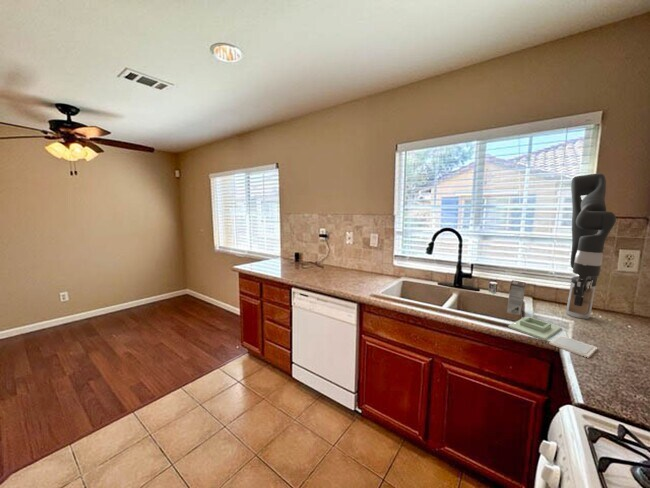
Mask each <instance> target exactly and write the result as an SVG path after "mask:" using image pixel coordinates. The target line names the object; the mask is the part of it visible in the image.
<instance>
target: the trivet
mask: <svg viewBox="0 0 650 488" xmlns="http://www.w3.org/2000/svg"><path fill="white" fill-rule="evenodd" d="M548 344H549V345H550V346H554V347H557V348H559V349H562V350H565V351H567V352H570V353H572V354H575V355H578V356H581V357H583V356H584V357H585V358H586V357H587V359H589V358H591V356H593V354H594V353H595V352H597V350H598V347H597V346H595V345H591V344H589V343H586V342H584V341H583V342H582V341H580V340H576V339H573V338H570V337H568V336H565V335H563V334H562V335H561V334H559V335H557V336H555V338H553V339H551V340H550V341H549V343H548Z"/></svg>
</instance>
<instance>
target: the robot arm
mask: <svg viewBox="0 0 650 488" xmlns="http://www.w3.org/2000/svg"><path fill="white" fill-rule="evenodd" d="M570 182H571V184H570V191H571V192H570V193H571V204H572V205H571V206H572V207H571V208H572V210H571V211H572V215H571V241H572V243H571V254H570V267H571V269H572V273H573V274H575V275H576V276H573V277H571V280H570V281H571V282H570V286H569V287H570V288H569V292H568V299H567V304H566V311H565V314H566V315H568V316H571V317H573V318H577V319H582V320H584V319H585V320H587V319H590V318H591V313H592V309H593V308H592V307H593V302H594V297H595V292H596V286H597V281H598V278H599V277H600V275H601V269H602V268H601V267H602V264H603V252H604V248H605V244H606V240H607V238H608V236H609V234H610V233H611V231H612V230H613V227H614V226H615V224H616V221H617V217H616V214H615V213H614V212H612V211H607V205H606V201H605V200H606V199H605V198H606V191H607V180H606V177H605V175H604V174H602V173H591V174H585V175H583V174H582V175H577V176H573V178H572V179H571V181H570ZM582 196H584V197H583V198H582ZM572 287H574V293H573V294H574V295H575V302H574V305H577V306H582V303H583V298H584V294H585V292H586V291H587V290H588V288H592V289H593V294H592V299H591V304H590V310H589V313H588V314H587V315H581V314H578V313H574V312H570V311H568V310H569V305H570V299H571V293H572ZM578 291H581V293H578Z"/></svg>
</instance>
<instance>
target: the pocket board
mask: <svg viewBox="0 0 650 488" xmlns="http://www.w3.org/2000/svg"><path fill="white" fill-rule="evenodd" d="M514 323H516V324H514ZM507 328H508V329H512V330H515V331H517V332H520V333H522V334H525V335H529V336H530V337H534V338H537V339H539V340H543V341H546V340H548V339H549V338H551V337H552V336H554V335H555V334H556V333H558V332H559V331H561V330H562V329H563V328H562V326H559V325H557V324H554V323H550V322H546V321H544V320H540V319H537V318H534V317H531V316H528V315H526V316H523V317H522V318H519V320H515V321H514V322H512V323H510V324H508V326H507Z"/></svg>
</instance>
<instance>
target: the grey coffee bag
mask: <svg viewBox="0 0 650 488" xmlns="http://www.w3.org/2000/svg"><path fill="white" fill-rule="evenodd" d="M509 285H510V286H509V294H508V300H507V307H506V308H507V309H506V313H508V314H512V315H516V316H522V312H523V305H524V298H525V293H526V282H523V281H521V280H520V281H519V280H513V279H511V282H510V284H509Z"/></svg>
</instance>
